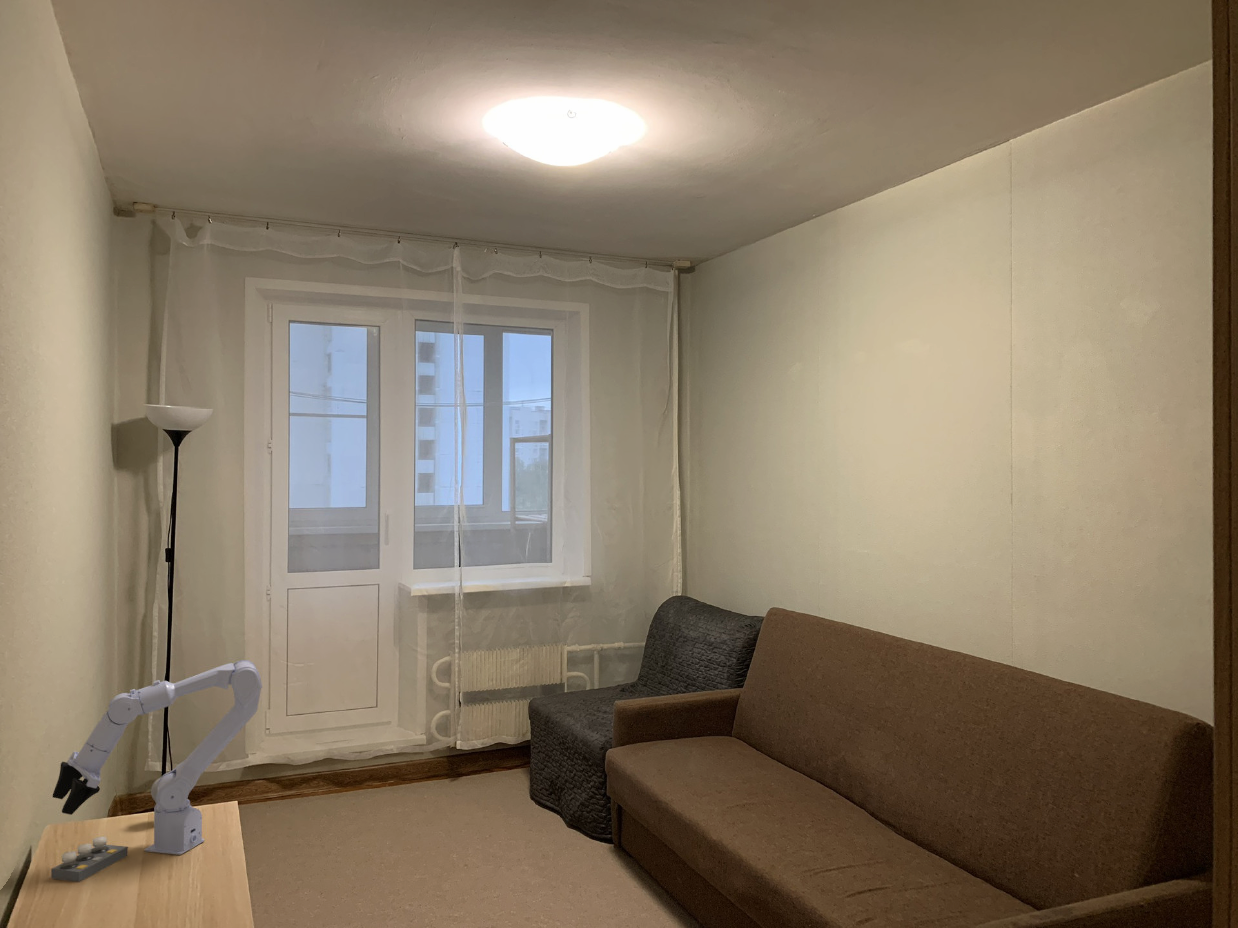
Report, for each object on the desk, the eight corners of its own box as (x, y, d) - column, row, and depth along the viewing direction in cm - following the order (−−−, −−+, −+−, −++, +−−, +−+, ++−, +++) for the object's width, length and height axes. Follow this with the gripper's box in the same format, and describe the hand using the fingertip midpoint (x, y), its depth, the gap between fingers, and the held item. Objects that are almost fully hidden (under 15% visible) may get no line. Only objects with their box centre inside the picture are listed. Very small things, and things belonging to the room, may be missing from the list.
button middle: (94, 849, 190) (94, 844, 190) (84, 854, 187) (84, 849, 187) (84, 848, 190) (84, 843, 191) (74, 853, 188) (74, 848, 188)
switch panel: (127, 855, 195) (127, 845, 195) (79, 881, 182) (79, 871, 182) (100, 853, 196) (100, 843, 196) (51, 878, 184) (51, 867, 184)
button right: (109, 842, 194) (109, 837, 194) (99, 847, 191) (99, 841, 191) (99, 841, 194) (99, 836, 194) (89, 846, 192) (89, 840, 192)
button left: (79, 857, 186) (79, 851, 186) (69, 862, 183) (69, 857, 184) (69, 856, 187) (69, 850, 187) (58, 861, 184) (58, 855, 184)
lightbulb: (167, 827, 210) (167, 781, 211) (144, 826, 212) (145, 780, 212) (184, 818, 216) (184, 773, 217) (162, 816, 218) (163, 771, 218)
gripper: (72, 728, 196) (35, 786, 193) (91, 754, 186) (52, 816, 183) (102, 737, 201) (66, 794, 197) (122, 763, 191) (84, 823, 187)
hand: (61, 805), depth 190 cm, fingers open, 7 cm apart
